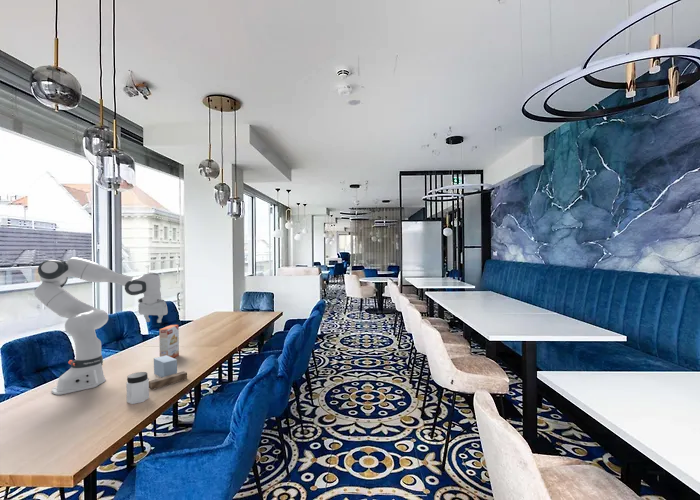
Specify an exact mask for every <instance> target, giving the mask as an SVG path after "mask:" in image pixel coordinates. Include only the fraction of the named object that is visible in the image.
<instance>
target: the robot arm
mask: <svg viewBox="0 0 700 500" xmlns="http://www.w3.org/2000/svg"><path fill="white" fill-rule="evenodd" d="M37 273H38V275H39V278H40V280H41V284H39V285H38V286H37V287H36V288H35V289H34V296H35V297H36V299H38V300H39V301H40V303H42V304H43V305H44V306H45V307H47V308H48V309H49V310H51V312H53V313H55V314H56V315H57V316H59V317H61V318H65V319H67V320H66V321H65V323H64V330H65V331H66V333H67V334H69V335H70V336H71V338H72V339H73V343H74V350H75V359H74V360H73V359H69V361H68V362H67V363H68V364H69V365H70V367H69V369H68V370H66V371H65V372H64V373H63V374H61V375H60V376H59V377H58V379H57V383H56V384H57V385H56V386H54V387H52V388H51V393H52V394H53V395H57V396H61V395H65V394H71V393H75V392H76V393H77V392H80V391H84V390H88V389H93V388H96V387H98V386H99V385H102V384H104V382H105V381H107V379H106V376H105V375H104V369H103V363H104V360H103V359H104V358H103V354H102V341H101V339H99V338H98V337H97V334H96V330H98V329H101V328H102V327H104V325H106V324H107V323H108V321H109V315H108V313H107V312H106V310H103V309H100V308H97V307H95V306H91V305H90V304H87V303H86V302H83V301H82V300H79V299H78V298H76V297H75V296H74V295H72V294H71V293H70V292H68V291H67V290H66V289H64V288H63V287H64V286H65V285H66V284H67V282H68V278H71V277H72V278H77V279H80V280H83V281H86V282H91V283H113V284H116V285H120V286H123V287H124V291H125V292H126V294H128V295H130V296H138V295H142V294H143V297H141V298H138V300H137V301H138V307H137V308H138V309H137V310H138V313H139V315H143V317H144V319H145V323H150V322H151V318H150V317H149V316H157V317H158V318H157V319H156V323H158V324H159V323H160V324H161V323H162V319H163V316H166V315H168V312H169V311H168V306H167V302H166V300H165V299H162V293H161V287H162V286H161V278H160V275H159V274H158V273H156V272H145V273H143V274H141V275H140V276H138V277H133V276H132V277H131V276H129V275H127V274H126V275H125V274H122V273H119V272H117V271H114V270H111V269H110V268H108V267H106V266H104V265H102V264H100V263H97V262H95V261H91V260H88V259H85V258H81V257H76V256H75V257H70V258H68V259H67V260H66V261H65V260H63V259H60V260H59V259H47V260H45V261H44V260H43V261H42V262H41V263H40V264H39V265H38V267H37Z"/></svg>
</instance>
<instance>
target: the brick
mask: <svg viewBox="0 0 700 500" xmlns="http://www.w3.org/2000/svg"><path fill="white" fill-rule="evenodd" d="M176 373H178V360H177V359H176V358H175V357H174V358H172V357H169V356H167V355H166V356H161V357H160V356H159V357H158V356H157V357H154V358H153V374H154V375H156V376H157V377H159V378H162V377H165V376H169V375H172V374H176Z"/></svg>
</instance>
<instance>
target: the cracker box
mask: <svg viewBox="0 0 700 500" xmlns="http://www.w3.org/2000/svg"><path fill="white" fill-rule="evenodd" d="M179 327H180V326H179V324H170V325H167V326H165V327H163V328H159V339H158V340H159V357H161V356H166V355H167V356H169V357H172V358H174V359H175V358H176V357H178V356H179V355H180V345H179V343H180V341H179V340H180V337H179V334H180V333H179V332H180V331H179Z"/></svg>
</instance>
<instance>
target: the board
mask: <svg viewBox="0 0 700 500" xmlns="http://www.w3.org/2000/svg"><path fill="white" fill-rule="evenodd" d="M185 380H188V372H187V371H184V370H183V371H180V372H179V371H178V372H177V373H176V374H172V375H169V376H165V377H162V378H161V377H159V378H154V379H151V380H149V390H151V391H153V390H156V389H159V388H162V387H166V386H169V385H172V384H175V383H179V382H182V381H185Z"/></svg>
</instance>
